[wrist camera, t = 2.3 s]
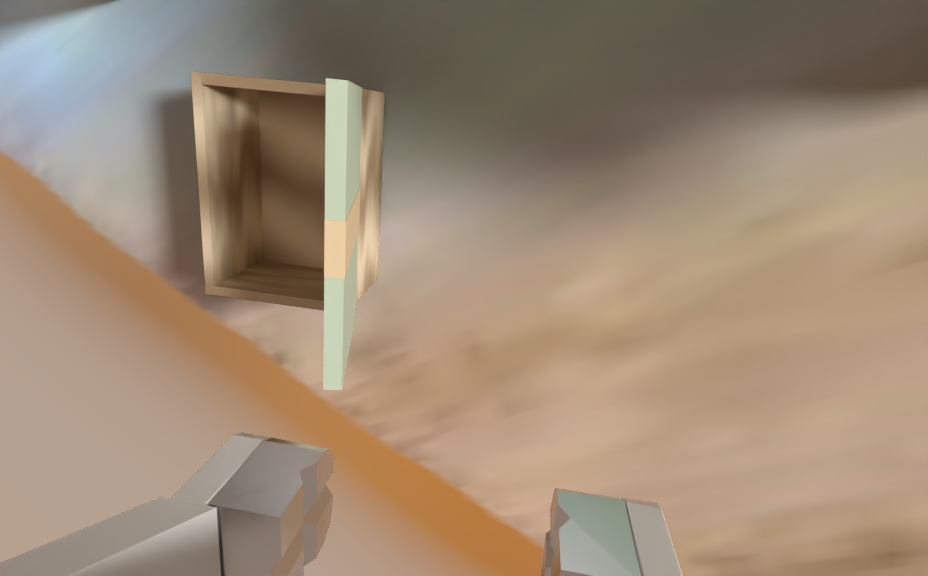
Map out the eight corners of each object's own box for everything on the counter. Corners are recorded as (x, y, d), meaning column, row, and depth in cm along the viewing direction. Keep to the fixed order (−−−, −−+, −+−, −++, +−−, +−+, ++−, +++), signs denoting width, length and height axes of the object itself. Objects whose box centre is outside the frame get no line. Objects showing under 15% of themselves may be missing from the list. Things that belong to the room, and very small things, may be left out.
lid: (325, 78, 19) (348, 80, 19) (347, 86, 28) (363, 88, 28) (323, 390, 23) (342, 390, 24) (342, 314, 32) (356, 314, 32)
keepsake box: (255, 80, 36) (190, 71, 29) (385, 92, 35) (348, 86, 28) (261, 264, 40) (205, 293, 33) (377, 280, 39) (343, 313, 32)
